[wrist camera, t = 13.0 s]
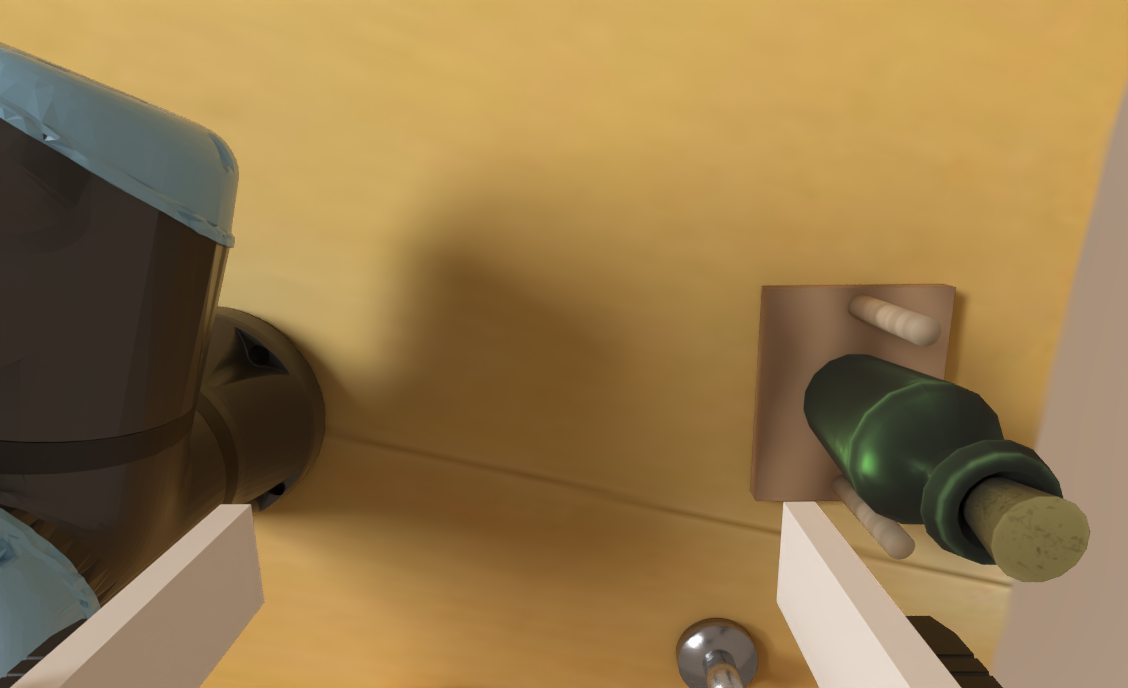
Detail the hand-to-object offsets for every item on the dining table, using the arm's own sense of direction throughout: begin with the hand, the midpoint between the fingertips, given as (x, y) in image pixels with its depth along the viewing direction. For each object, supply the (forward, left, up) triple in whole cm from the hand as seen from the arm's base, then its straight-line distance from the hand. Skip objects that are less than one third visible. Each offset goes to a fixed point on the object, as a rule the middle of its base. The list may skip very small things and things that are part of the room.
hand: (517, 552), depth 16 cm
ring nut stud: (+12, -26, -29) cm, 40 cm away
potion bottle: (+20, -5, -27) cm, 34 cm away
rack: (+20, -5, -29) cm, 35 cm away
